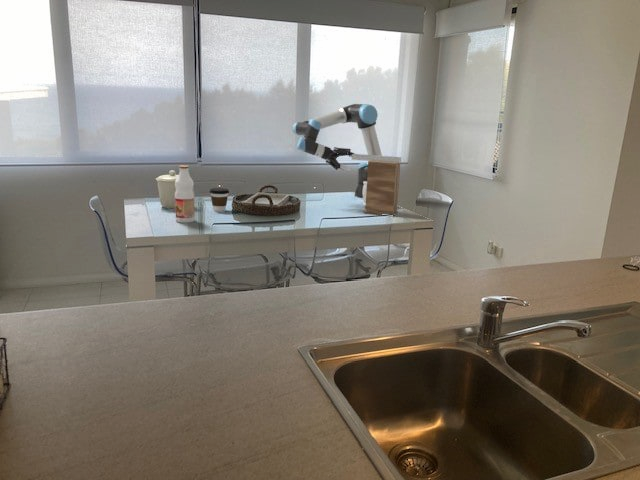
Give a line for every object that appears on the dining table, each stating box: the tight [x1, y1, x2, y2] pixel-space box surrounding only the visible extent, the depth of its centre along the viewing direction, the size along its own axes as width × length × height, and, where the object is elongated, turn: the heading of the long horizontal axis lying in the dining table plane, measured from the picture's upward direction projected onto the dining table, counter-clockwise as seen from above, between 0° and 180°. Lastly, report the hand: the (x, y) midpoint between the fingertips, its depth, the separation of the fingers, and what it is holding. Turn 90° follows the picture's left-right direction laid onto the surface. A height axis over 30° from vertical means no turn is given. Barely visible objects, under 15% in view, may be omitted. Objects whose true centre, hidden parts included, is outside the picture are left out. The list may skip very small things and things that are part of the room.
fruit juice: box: [175, 164, 196, 224], centre depth 267 cm, size 9×9×28 cm
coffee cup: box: [208, 187, 230, 213], centre depth 298 cm, size 11×11×12 cm
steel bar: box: [351, 153, 402, 164], centre depth 305 cm, size 4×28×3 cm, turn 70°
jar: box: [362, 181, 367, 207], centre depth 331 cm, size 11×10×15 cm
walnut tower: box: [363, 161, 401, 216], centre depth 307 cm, size 13×17×30 cm
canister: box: [155, 169, 179, 210], centre depth 301 cm, size 18×18×21 cm
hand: (354, 163), depth 323 cm, fingers open, 13 cm apart
